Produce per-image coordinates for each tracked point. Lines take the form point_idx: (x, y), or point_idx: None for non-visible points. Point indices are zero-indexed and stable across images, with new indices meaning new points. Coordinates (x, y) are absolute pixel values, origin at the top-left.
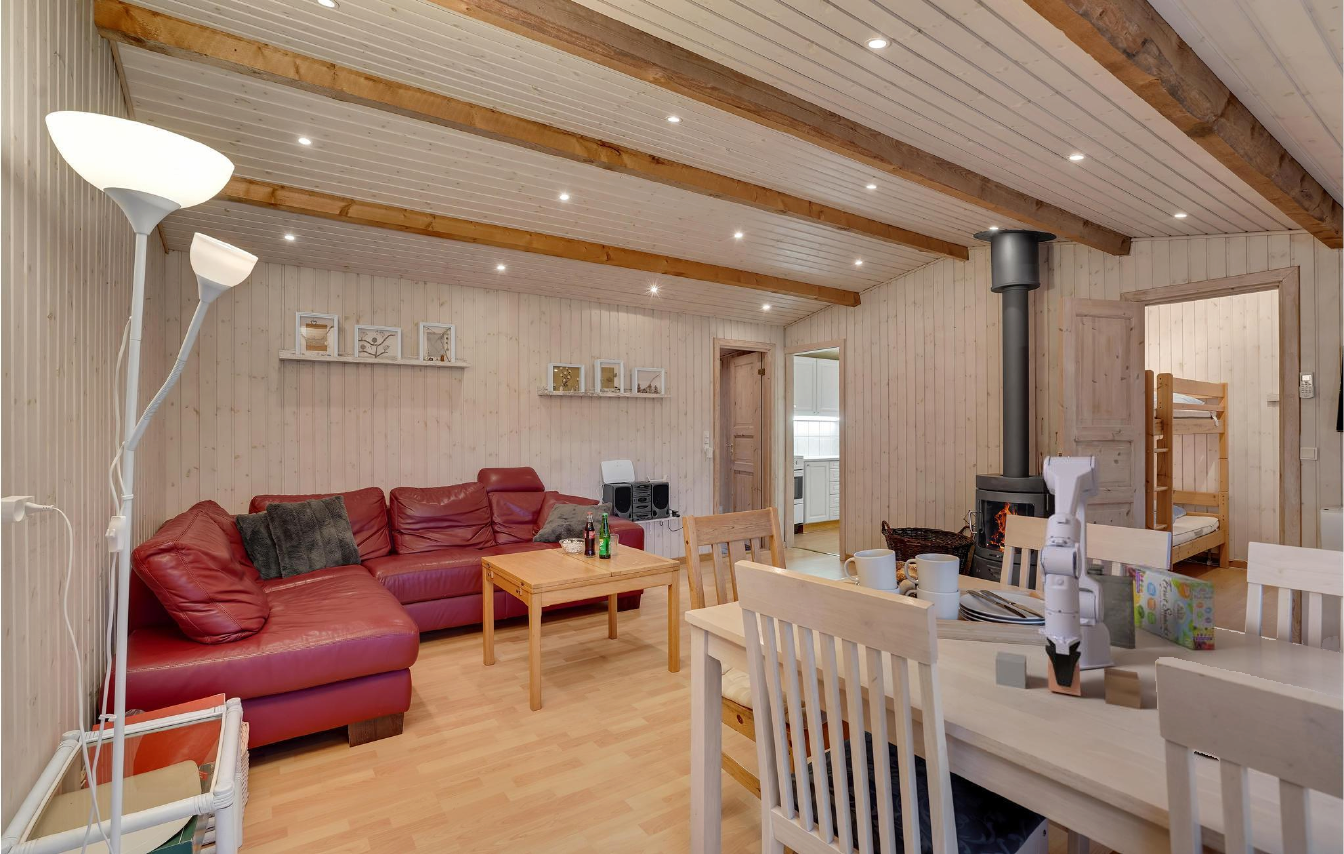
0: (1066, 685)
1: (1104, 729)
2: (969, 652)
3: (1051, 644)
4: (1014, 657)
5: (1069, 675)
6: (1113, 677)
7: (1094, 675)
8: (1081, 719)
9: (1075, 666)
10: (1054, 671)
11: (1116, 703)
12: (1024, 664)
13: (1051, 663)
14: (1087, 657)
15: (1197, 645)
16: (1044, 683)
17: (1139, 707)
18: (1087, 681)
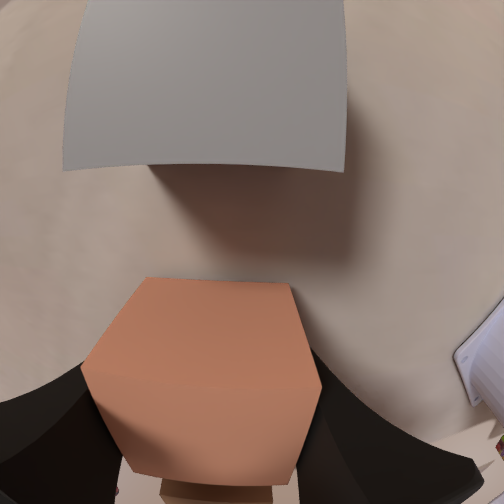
0: None
1: (13, 370)
2: (487, 11)
3: (351, 488)
4: (211, 55)
5: None
6: (165, 501)
7: (420, 391)
8: (17, 339)
9: (153, 469)
10: (74, 367)
11: None
12: (70, 169)
13: (106, 388)
14: (482, 390)
15: (501, 443)
16: (281, 253)
17: None
18: (366, 387)
